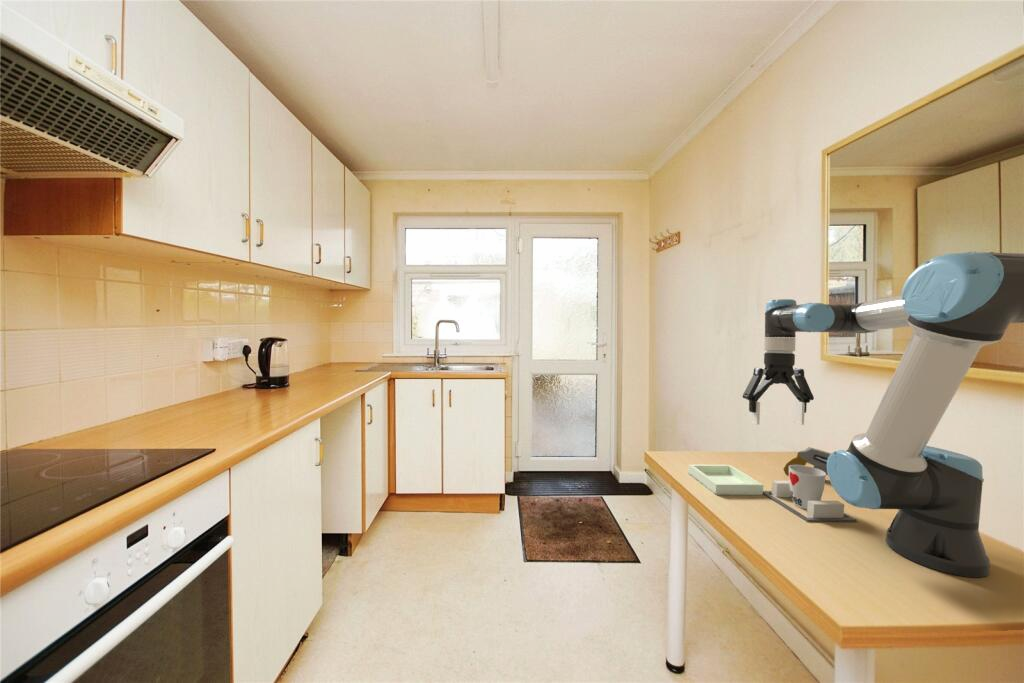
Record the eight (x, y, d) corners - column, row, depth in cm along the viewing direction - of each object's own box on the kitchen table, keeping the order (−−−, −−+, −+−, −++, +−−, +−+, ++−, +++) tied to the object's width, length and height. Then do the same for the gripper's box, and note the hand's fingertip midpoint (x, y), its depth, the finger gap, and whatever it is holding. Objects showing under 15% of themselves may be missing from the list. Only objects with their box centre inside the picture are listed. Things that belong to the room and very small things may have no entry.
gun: (868, 514, 121) (894, 473, 118) (782, 474, 128) (805, 434, 126) (863, 510, 124) (888, 469, 121) (780, 470, 131) (802, 431, 129)
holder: (856, 521, 99) (857, 506, 98) (806, 521, 98) (807, 506, 98) (803, 492, 116) (804, 479, 115) (760, 492, 115) (761, 479, 115)
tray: (762, 494, 113) (763, 484, 113) (715, 494, 113) (716, 484, 113) (729, 473, 129) (730, 464, 129) (688, 473, 129) (688, 464, 129)
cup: (784, 497, 112) (786, 462, 112) (819, 503, 109) (821, 467, 108) (790, 508, 105) (791, 472, 104) (827, 515, 101) (829, 478, 101)
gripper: (809, 352, 120) (807, 420, 120) (730, 350, 119) (728, 420, 119) (830, 353, 112) (828, 426, 113) (746, 352, 111) (744, 426, 111)
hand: (777, 423), depth 116 cm, fingers open, 13 cm apart
